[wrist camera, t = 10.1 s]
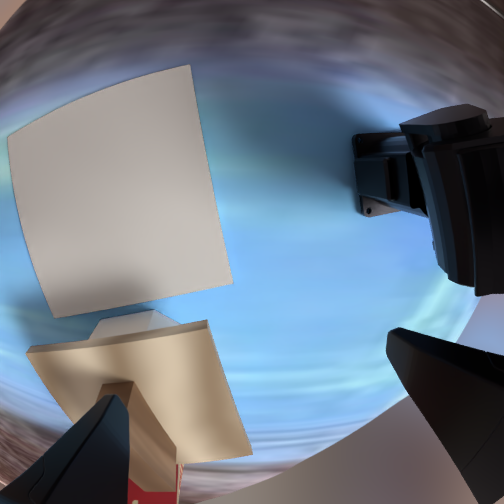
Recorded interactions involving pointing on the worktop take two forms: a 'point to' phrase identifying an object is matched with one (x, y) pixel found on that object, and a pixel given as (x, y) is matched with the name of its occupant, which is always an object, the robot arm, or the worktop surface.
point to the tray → (119, 197)
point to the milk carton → (142, 500)
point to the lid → (152, 395)
